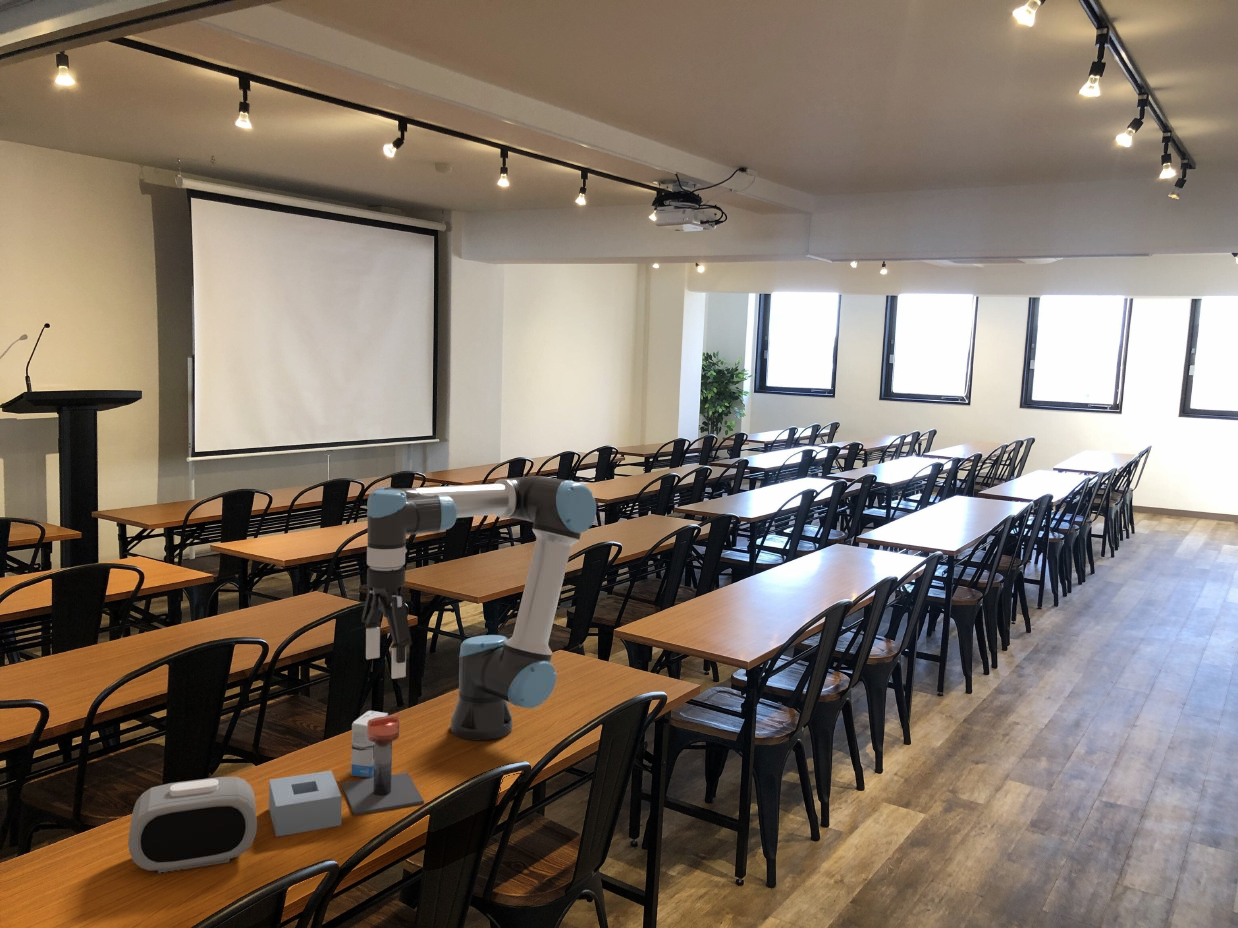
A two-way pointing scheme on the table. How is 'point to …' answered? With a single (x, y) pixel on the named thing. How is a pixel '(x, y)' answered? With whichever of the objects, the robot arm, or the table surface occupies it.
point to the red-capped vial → (383, 750)
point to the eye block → (304, 803)
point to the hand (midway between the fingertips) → (385, 667)
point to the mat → (368, 802)
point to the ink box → (363, 746)
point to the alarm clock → (192, 824)
